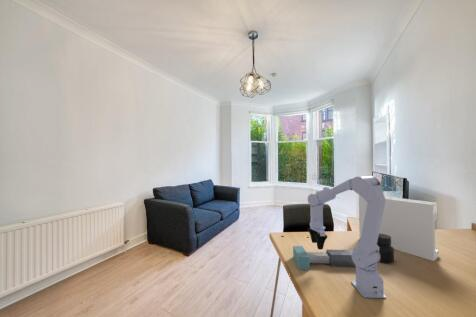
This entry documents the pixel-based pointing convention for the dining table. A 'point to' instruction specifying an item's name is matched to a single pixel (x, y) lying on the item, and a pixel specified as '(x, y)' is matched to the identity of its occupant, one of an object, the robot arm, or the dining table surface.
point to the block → (407, 225)
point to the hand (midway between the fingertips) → (317, 245)
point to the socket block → (301, 258)
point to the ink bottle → (385, 249)
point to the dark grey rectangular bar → (341, 258)
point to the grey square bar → (319, 257)
